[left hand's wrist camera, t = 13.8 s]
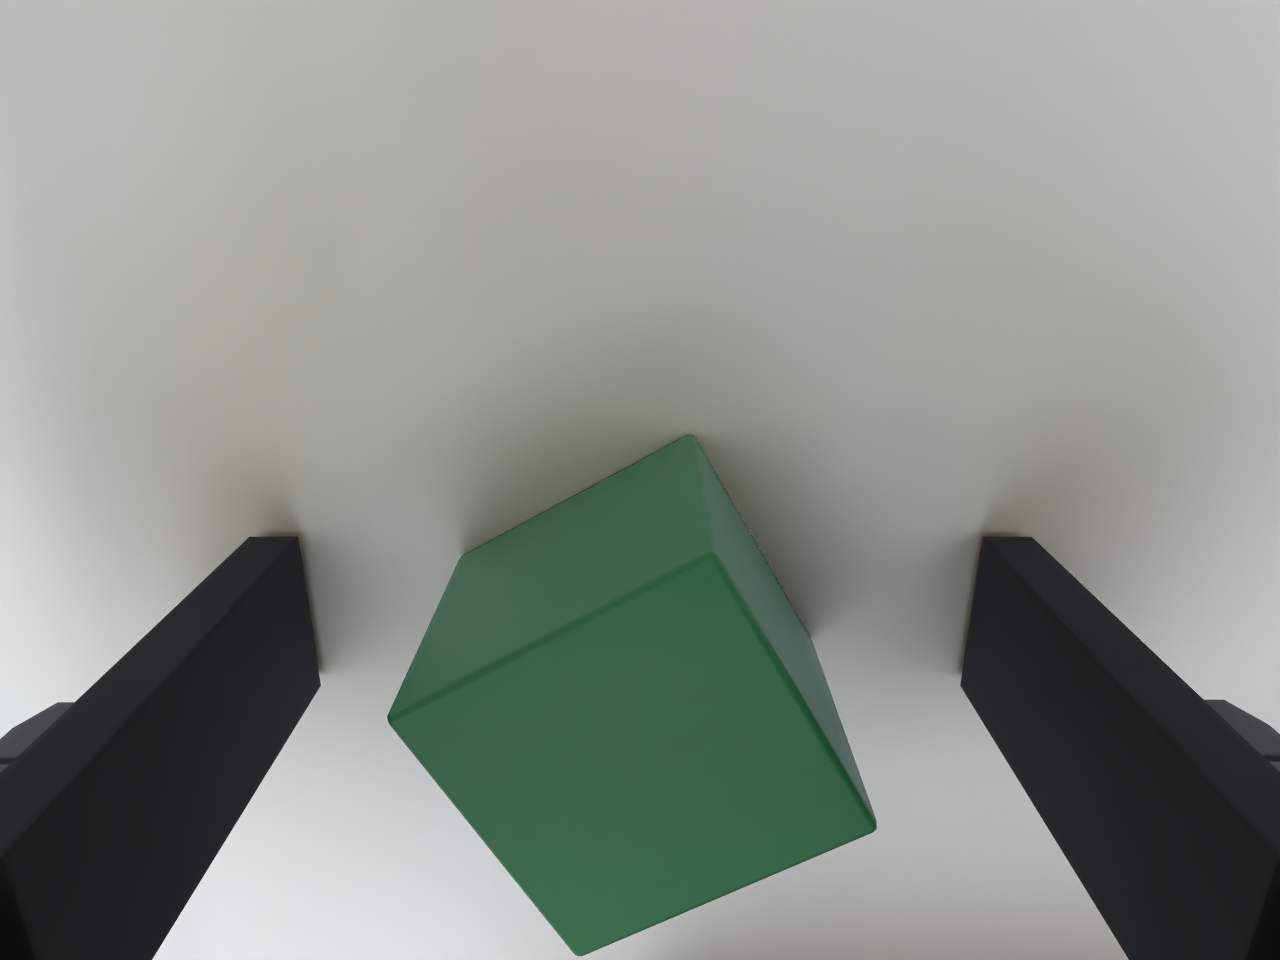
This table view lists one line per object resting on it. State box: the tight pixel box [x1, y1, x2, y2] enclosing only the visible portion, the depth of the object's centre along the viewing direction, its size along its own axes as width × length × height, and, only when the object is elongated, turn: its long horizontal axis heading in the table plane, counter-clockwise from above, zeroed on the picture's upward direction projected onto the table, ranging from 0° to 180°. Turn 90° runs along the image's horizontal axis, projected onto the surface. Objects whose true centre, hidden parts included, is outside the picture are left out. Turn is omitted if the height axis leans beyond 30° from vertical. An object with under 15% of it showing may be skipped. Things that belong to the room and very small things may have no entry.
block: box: [388, 435, 877, 956], centre depth 12 cm, size 4×4×4 cm
